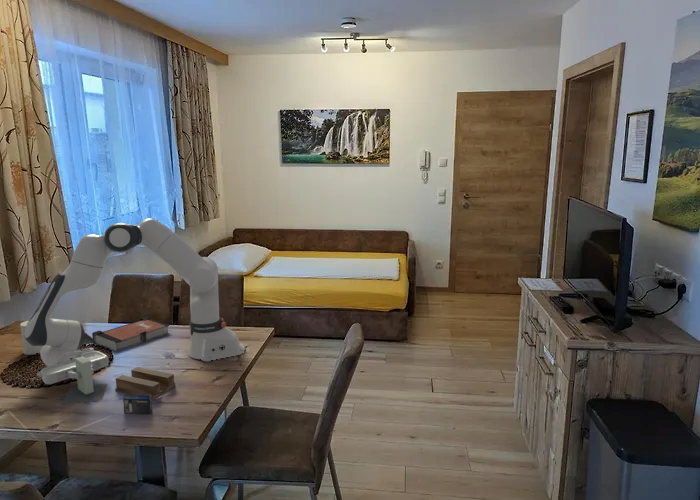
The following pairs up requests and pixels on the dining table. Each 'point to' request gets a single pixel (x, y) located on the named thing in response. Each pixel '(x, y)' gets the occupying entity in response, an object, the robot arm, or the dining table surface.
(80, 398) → the mat
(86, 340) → the smartphone
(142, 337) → the book
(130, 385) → the rack
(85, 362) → the tall sage green pillar
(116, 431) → the dining table surface
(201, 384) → the dining table surface
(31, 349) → the cup
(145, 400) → the mini dv tape
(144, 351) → the dining table surface
